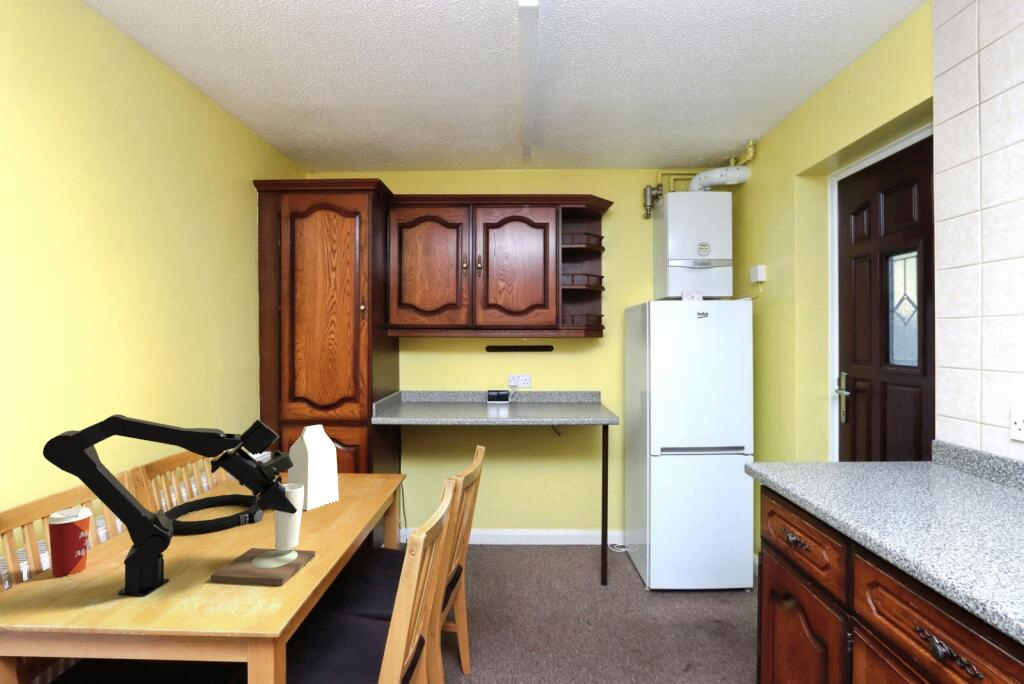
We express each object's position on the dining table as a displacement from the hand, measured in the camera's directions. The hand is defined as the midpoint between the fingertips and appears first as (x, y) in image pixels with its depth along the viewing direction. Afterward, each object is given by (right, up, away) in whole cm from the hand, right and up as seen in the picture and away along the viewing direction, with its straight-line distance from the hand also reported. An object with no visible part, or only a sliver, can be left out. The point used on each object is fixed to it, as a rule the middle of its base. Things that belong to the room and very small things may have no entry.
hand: (294, 507), depth 117 cm
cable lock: (-36, -13, +26) cm, 46 cm away
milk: (-12, -13, +39) cm, 43 cm away
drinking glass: (-1, -10, -1) cm, 10 cm away
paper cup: (-49, -12, -8) cm, 51 cm away
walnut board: (-4, -12, -7) cm, 14 cm away
